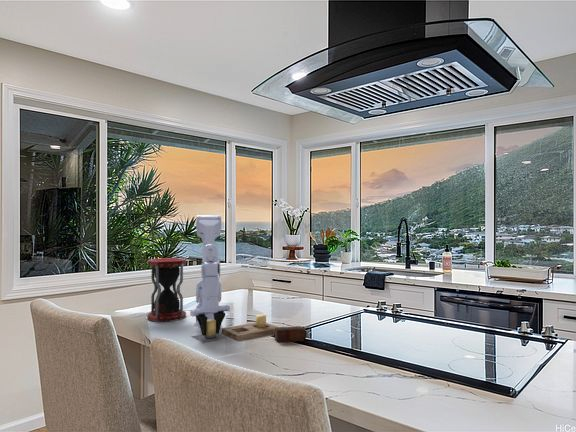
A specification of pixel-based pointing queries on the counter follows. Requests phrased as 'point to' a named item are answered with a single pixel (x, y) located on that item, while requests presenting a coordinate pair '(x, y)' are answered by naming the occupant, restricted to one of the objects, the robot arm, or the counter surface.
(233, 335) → the socket board
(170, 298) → the hourglass
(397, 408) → the counter surface
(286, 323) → the counter surface
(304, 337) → the brick
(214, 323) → the yellow peg
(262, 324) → the tan domed cylinder
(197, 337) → the mat
